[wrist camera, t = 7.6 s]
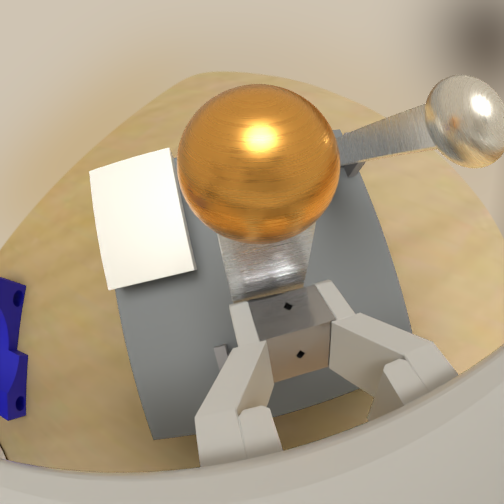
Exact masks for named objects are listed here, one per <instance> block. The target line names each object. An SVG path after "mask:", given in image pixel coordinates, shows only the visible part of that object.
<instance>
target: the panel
mask: <svg viewBox="0 0 504 504" xmlns="http://www.w3.org/2000/svg"><path fill="white" fill-rule="evenodd" d="M332 131H333V133H334V135H335V138H337V137H340V136H342V133H341V131H340V130H332ZM348 133H350V132H348ZM345 134H347V133H345ZM345 134H344V135H345ZM365 162H366V161H365ZM365 162H359V163H354V164H349V165H346V166H345V167H343V168H340V175H339V181H338V185H337V188H336V192H335V194H334V196H333V198H332V200H331V202H330V204H329V206H328V207H327V209H326V210H325V212H324V213H323V214H322V215H321V217H320V218H319V219H318V220H317V221H316V224H315V230H314V235H313V241H312V246H311V251H310V257H309V262H308V267H307V272H306V277H305V281H304V286H303V287H305V286H309V285H312V284H315V283H318V282H322V281H325V280H328V279H329V280H331V281H332V282H333V284H334V285H335V286H336V288H337V289H338V290H339V292H340V293H341V295H342V296H343V297H344V299H345V300H346V301H347V303H348V304H349V306H350V307H351V308H352V310H353V311H354V313H355V314H357V313H362V314H365V315H367V316H370V317H372V318H375V319H377V320H380V321H382V322H384V323H387V324H389V325H392V326H394V327H397V328H399V329H402V330H404V331H407V332H409V333H412V330H411V325H410V321H409V317H408V313H407V309H406V306H405V302H404V298H403V295H402V291H401V287H400V284H399V281H398V277H397V274H396V271H395V267H394V264H393V261H392V258H391V255H390V252H389V249H388V246H387V243H386V240H385V237H384V234H383V231H382V228H381V226H380V223H379V220H378V217H377V215H376V212H375V210H374V207H373V204H372V202H371V199H370V197H369V194H368V192H367V189H366V187H365V184H364V182H363V180H362V177H361V175H360V172H359V170H360V169H361V168H362V166H363V165H364V163H365ZM174 163H175V169H176V174H177V158H174ZM177 179H178V175H177ZM178 184H179V180H178ZM179 189H180V194H181V199H182V204H183V209H184V214H185V218H186V223H187V228H188V232H189V237H190V241H191V246H192V250H193V254H194V259H195V263H196V267H197V270H193V271H189V272H185V273H181V274H176V275H172V276H168V277H164V278H160V279H155V280H151V281H147V282H143V283H139V284H134V285H130V286H126V287H122V288H117V289H115V291H116V297H117V303H118V309H119V314H120V319H121V324H122V329H123V334H124V338H125V343H126V347H127V351H128V356H129V360H130V364H131V368H132V371H133V375H134V379H135V383H136V386H137V390H138V393H139V397H140V400H141V403H142V406H143V410H144V413H145V416H146V419H147V422H148V425H149V428H150V431H151V434H152V437H153V440H157V439H166V438H174V437H181V436H188V435H194V434H196V428H195V416H196V414H197V412H198V410H199V409H200V407H201V405H202V403H203V402H204V400H205V398H206V396H207V394H208V393H209V391H210V389H211V387H212V385H213V384H214V382H215V380H216V378H217V376H218V374H219V373H220V371H221V369H222V367H223V365H224V364H225V362H226V360H227V358H228V356H229V354H230V352H231V351H232V349H233V348H236V347H238V344H237V340H236V336H235V331H234V327H233V323H232V318H231V314H230V309H229V305H230V304H233V302H232V298H231V294H230V289H229V285H228V281H227V276H226V272H225V268H224V263H223V259H222V254H221V250H220V245H219V241H218V236H217V233H216V232H214V231H213V230H212V229H210V228H209V227H207V226H206V225H205V224H204V223H203V222H202V221H201V220H200V219H199V218H198V217H197V216H196V215H195V214H194V213H193V211H192V210H191V208H190V207H189V205H188V204H187V202H186V200H185V198H184V196H183V193H182V191H181V188H180V184H179ZM357 389H359V387H357V386H356V385H354V384H352V383H351V382H349V381H348V380H346V379H345V378H343V377H342V376H340V375H339V374H337V373H336V372H334V371H333V370H331V369H330V368H329V367H326V368H322V369H319V370H316V371H312V372H308V373H305V374H301V375H298V376H295V377H292V378H288V379H285V380H282V381H279V382H275V383H274V386H273V390H272V393H271V396H270V399H269V402H268V405H267V408H270V411H271V414H272V417H276V416H280V415H284V414H287V413H290V412H294V411H297V410H300V409H304V408H307V407H310V406H313V405H316V404H319V403H322V402H325V401H327V400H330V399H333V398H336V397H339V396H341V395H344V394H347V393H349V392H352V391H354V390H357Z"/></svg>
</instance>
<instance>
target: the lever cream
mask: <svg viewBox="0 0 504 504" xmlns="http://www.w3.org/2000/svg"><path fill="white" fill-rule="evenodd" d="M336 141H337V145H338V149H339V153H340V168H343V167H345V166H346V165H349V164H354V163H359V162H365V161H370V160H375V159H381V158H386V157H392V156H397V155H403V154H409V153H415V152H422V151H428V150H435V149H438V150H439V151H440V152H441V153H442V154H443V155H444V156H445V157H446V158H447V159H449V160H450V161H452V162H454V163H456V164H458V165H460V166H463V167H468V168H482V167H486V166H489V165H491V164H492V163H494V162H496V161H497V160H498V159H499V158H500V157H501V156H502V154H503V153H504V103H503V101H502V99H501V98H500V97H499V95H498V94H497V93H496V92H495V91H494V90H493V89H492V88H491V87H490V86H489V85H488V84H486V83H485V82H483V81H482V80H480V79H478V78H475V77H472V76H468V75H453V76H450V77H447V78H445V79H443V80H441V81H440V82H438V83H437V84H436V85H435V86H434V87H433V89H432V90H431V92H430V94H429V95H428V98H427V101H426V104H423V105H420V106H418V107H415V108H412V109H409V110H406V111H404V112H401V113H398V114H396V115H393V116H390V117H388V118H385V119H382V120H380V121H377V122H375V123H372V124H369V125H367V126H364V127H362V128H359V129H357V130H354V131H352V132H350V133H347V134H345V135H342V136H340V137H337V138H336Z"/></svg>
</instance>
